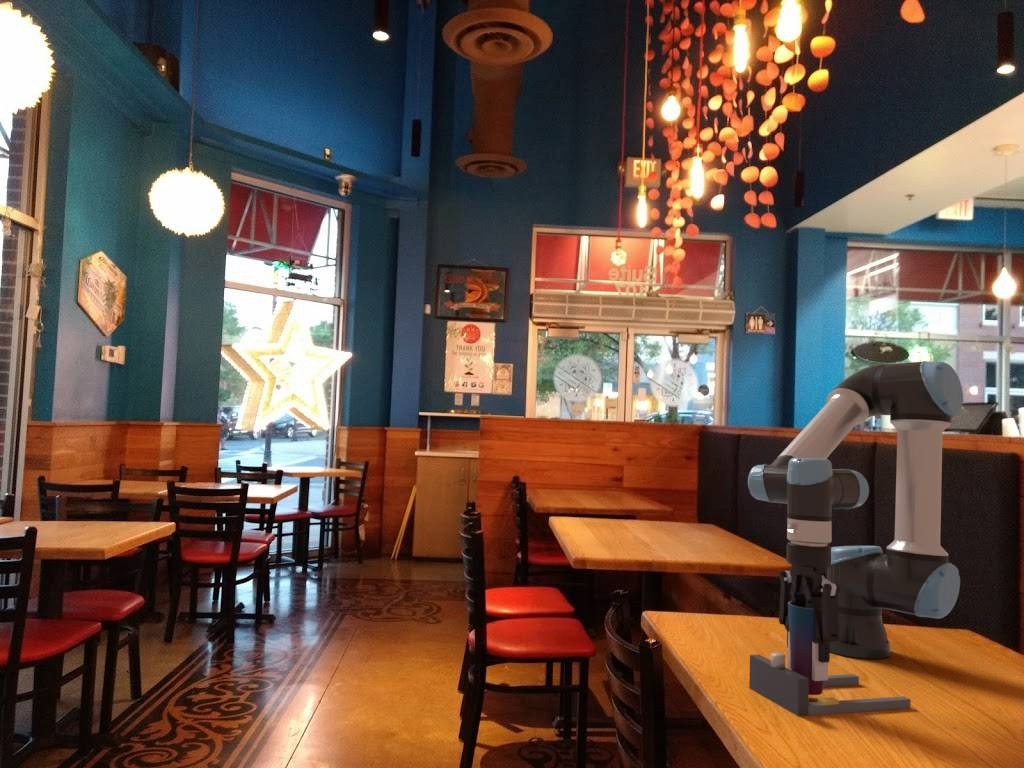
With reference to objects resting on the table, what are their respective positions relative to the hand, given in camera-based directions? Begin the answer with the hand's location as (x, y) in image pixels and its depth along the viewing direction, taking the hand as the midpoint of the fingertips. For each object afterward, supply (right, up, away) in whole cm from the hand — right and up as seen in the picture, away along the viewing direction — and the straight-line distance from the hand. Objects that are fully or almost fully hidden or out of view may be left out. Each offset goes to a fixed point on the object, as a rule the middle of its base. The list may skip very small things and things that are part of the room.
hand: (807, 673), depth 132 cm
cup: (0, -3, 0) cm, 3 cm away
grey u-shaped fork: (+4, -5, +1) cm, 6 cm away
